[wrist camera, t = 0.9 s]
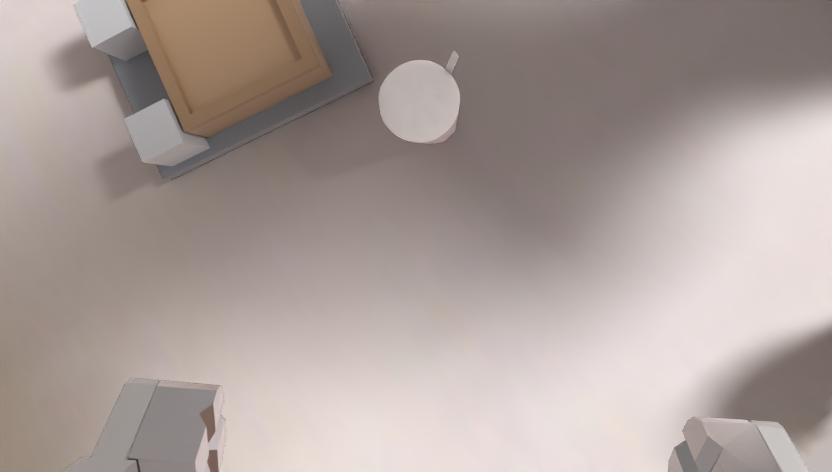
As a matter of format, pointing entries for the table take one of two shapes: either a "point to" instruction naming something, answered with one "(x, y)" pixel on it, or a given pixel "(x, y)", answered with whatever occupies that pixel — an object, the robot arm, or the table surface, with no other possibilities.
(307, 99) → the baseplate
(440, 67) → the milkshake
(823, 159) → the table surface
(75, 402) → the table surface
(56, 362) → the table surface
